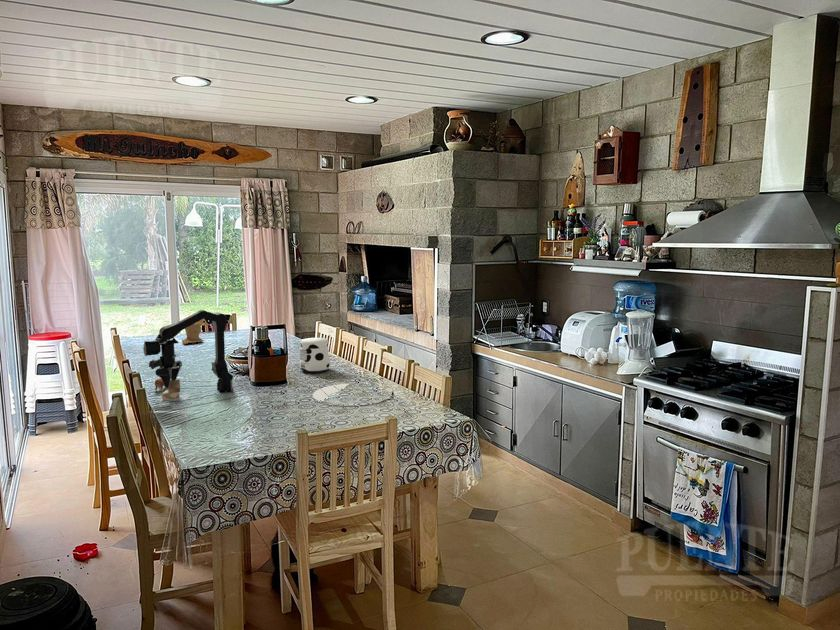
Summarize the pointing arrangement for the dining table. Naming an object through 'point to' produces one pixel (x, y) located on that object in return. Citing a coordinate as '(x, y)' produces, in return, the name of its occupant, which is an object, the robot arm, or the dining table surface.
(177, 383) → the walnut cube
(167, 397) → the oak base block
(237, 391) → the dining table surface
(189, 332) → the stone cup
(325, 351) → the milk container
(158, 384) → the bull figurine
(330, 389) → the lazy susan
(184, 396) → the mat
